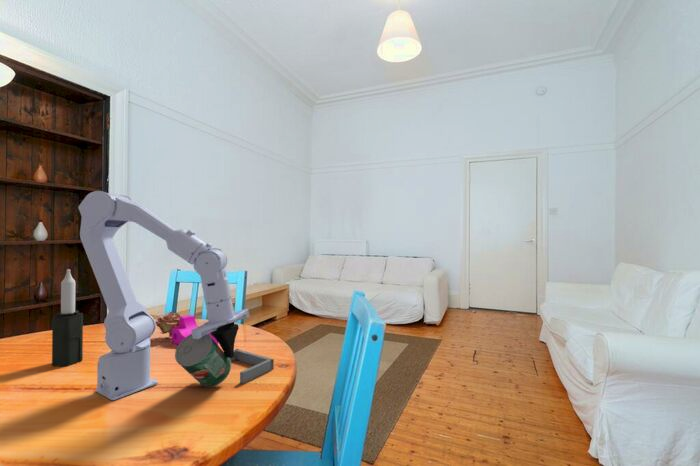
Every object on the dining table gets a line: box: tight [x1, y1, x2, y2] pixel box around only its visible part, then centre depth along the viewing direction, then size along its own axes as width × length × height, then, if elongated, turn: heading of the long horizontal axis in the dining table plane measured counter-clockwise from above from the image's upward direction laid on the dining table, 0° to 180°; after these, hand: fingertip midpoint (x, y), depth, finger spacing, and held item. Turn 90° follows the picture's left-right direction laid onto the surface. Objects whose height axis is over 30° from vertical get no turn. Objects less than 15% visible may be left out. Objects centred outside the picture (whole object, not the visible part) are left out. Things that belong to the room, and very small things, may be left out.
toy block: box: [171, 314, 219, 346], centre depth 105 cm, size 15×6×8 cm, turn 58°
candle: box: [51, 268, 84, 368], centre depth 88 cm, size 5×5×25 cm
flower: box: [155, 311, 187, 338], centre depth 110 cm, size 10×9×8 cm
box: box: [229, 348, 275, 384], centre depth 85 cm, size 10×14×2 cm
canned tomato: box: [174, 334, 232, 388], centre depth 75 cm, size 8×8×11 cm
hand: (229, 357), depth 77 cm, fingers closed, pressing on canned tomato
